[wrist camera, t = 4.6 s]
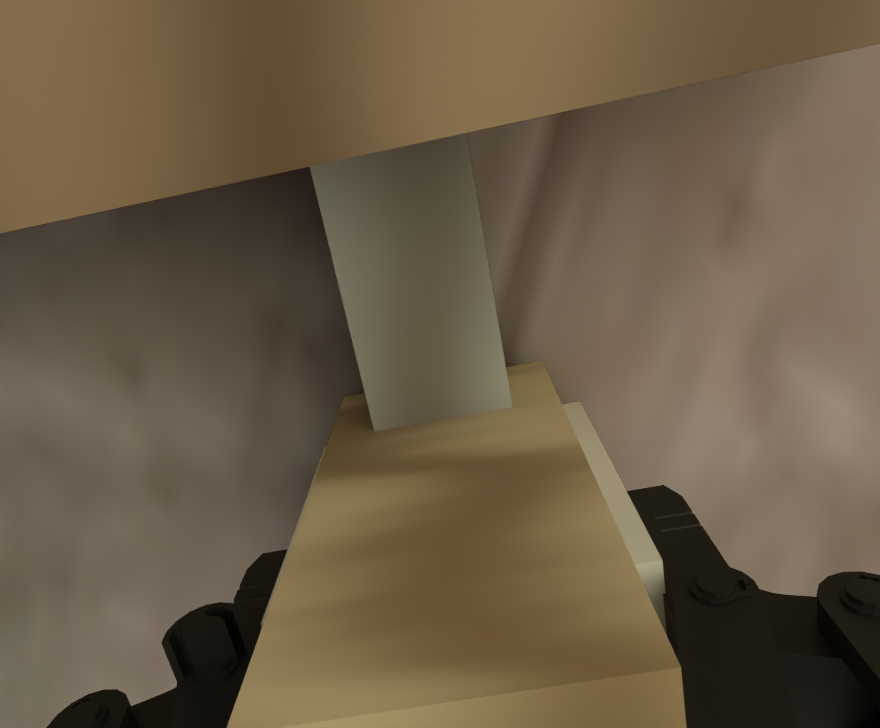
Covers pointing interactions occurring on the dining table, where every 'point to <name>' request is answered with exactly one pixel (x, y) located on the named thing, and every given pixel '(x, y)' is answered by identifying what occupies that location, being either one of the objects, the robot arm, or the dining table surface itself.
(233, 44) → the shelf
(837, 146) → the dining table surface
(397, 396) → the tool
